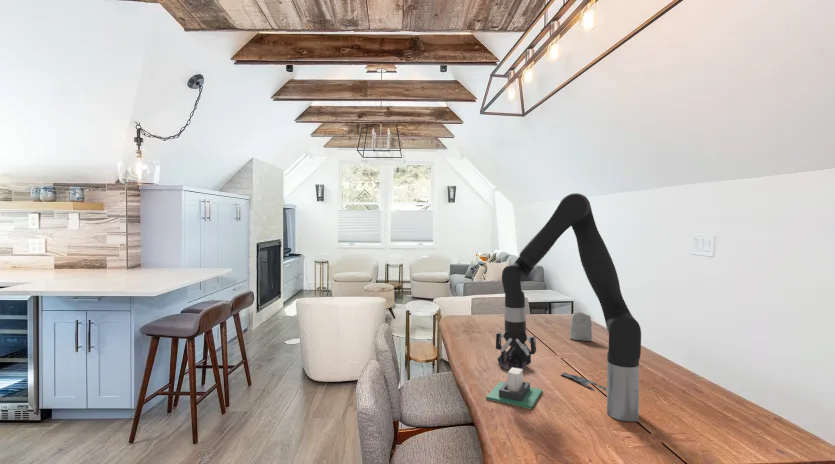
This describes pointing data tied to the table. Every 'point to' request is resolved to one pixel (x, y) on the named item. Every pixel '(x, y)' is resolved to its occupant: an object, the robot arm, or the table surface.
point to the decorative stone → (581, 327)
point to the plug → (515, 379)
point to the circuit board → (515, 395)
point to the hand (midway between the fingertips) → (515, 363)
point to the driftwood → (583, 381)
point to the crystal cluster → (514, 359)
